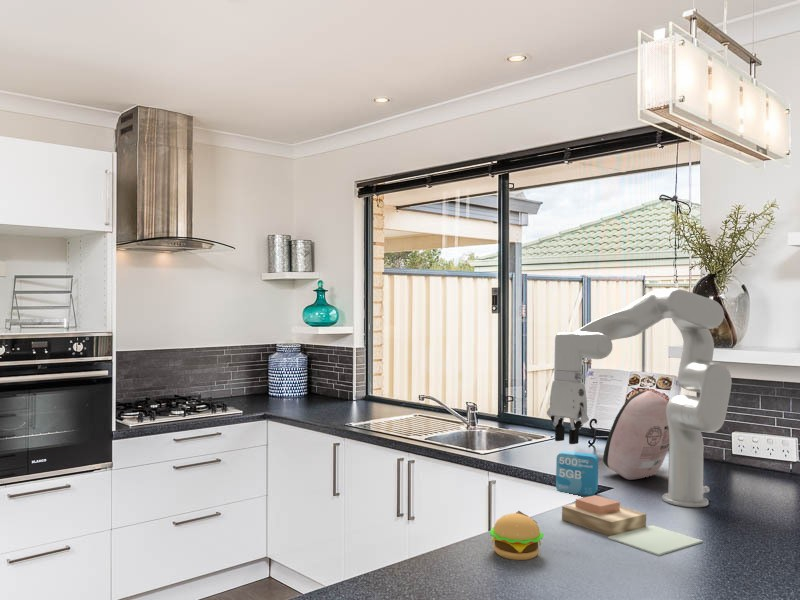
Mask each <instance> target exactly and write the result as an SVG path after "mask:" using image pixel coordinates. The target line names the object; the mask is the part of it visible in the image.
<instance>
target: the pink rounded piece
mask: <svg viewBox="0 0 800 600" xmlns="http://www.w3.org/2000/svg"><path fill="white" fill-rule="evenodd" d="M667 404H668V401H667V400H666V399H665V398H664V397H662V396H661V395H660V394H658V393H656V392H653V391H651V390H641V391H639V392H636V393H635V394H633V395H631V396H630V397H629V398H628V399H627V400H626V401H625V402H624V404H623V405H622V407H621V409H619V411H618V413H617V414H616V416H615V418H614V420H613V423H612V425H611V427H610V431H609V433H608V436H607V440H606V442H605V446H604V449H603V450H604V451H603V456H602V461H603V463H604V465H605V466H606V467H608V468H609V469H610V470H611V471H613V472H615V473H616V474H618V475H619V476H621V477H622V478H624V479H625V480H630V481H631V480H633V481H634V480H638V479H644V478H645V477H646V478H650V477H652V476H654V475H655V474H656V473H657V472H658V471H659V470H660V468H661V467H662V465H663V463H664V461H665V458H666V456H667V454H668V452H669V427H668V422H667V416H666V407H667ZM649 476H650V477H649ZM646 478H645V479H646Z"/></svg>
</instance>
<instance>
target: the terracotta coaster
mask: <svg viewBox="0 0 800 600" xmlns="http://www.w3.org/2000/svg"><path fill="white" fill-rule="evenodd" d="M575 504H576V507H578V508H581V509H585V510H588V511H591V512H594V513H597V514H604V513H608V512H612V511H617V510H620V506H621V503H620V501H616V500H614V499H610V498H606V497H603V496H599V495H596V494H594V495H593V496H585V497H584V496H583V497H580V498H575Z"/></svg>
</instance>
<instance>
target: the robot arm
mask: <svg viewBox="0 0 800 600" xmlns="http://www.w3.org/2000/svg"><path fill="white" fill-rule="evenodd" d="M724 318H725V312H724V309H723V307H722V305H721V304H720V303H719V302H718V301H716V300H715V299H712V298H710V297H706V296H703V295H700V294H697V293H694V292H691V291H687V290H684V289H680V288H662V289H661V288H660V289H655V290H653V291H650V292H648V293H647V294H645V295H644V296H641V298H639V299H637V300H635V301H633V302H632V303H630V304H629V305H627V306H626V307H624V308H622V309H621V310H617V311H615V312H612V313H610V314H607V315H605V316H602V317H600V318H598V319H595V320H592V321H591V322H589V323H586V324H585V325H583V326H582V327H580V328H579V329H577V330H575V331H574V332H557V333H556V334H555V337H554V363H553V364H554V365H553V368H554V370H553V371H554V373H553V375H554V376H553V379H554V380H552V383H551V389H550V397H549V408H548V409H547V411H546V415H547V416H548V417H549V418H550V420H551V422H552V423H553V427H555V429H554V441H555V442H560V441H561V442H562V441H565V433H566V431H565V430H566V428H565V426H564V420H565V419H569V423H570V429H569V433H568V443H569V444H568V445H578V444H579V439H580V438H579V435H580V434H579V433H580V431H579V430H581V428H582V427H583V426H584V424H586V423H588V421H589V416H588V401H587V400H588V399H587V389H586V387H585V385H586V384H585V382H583V380H584V379H585V374H583V359H589V360H590V359H591V360H603V359H606V358H607V357H608V356H609V355H610V354H611V353H612V351H613V341H615V340H620V339H627V338H631V337H635V336H637V335H640V334H642V333H643V332H645V331H646V330H648V329H649V328H651V327H653V326H654V325H656V324H658V323H659V322H660V321H662V320H665V319H671V320H672V323H673V324H674V325H675V326H676V327H677V328H678V330H679V332H680V334H681V337H682V340H683V343H682V345H683V346H682V351H681V352H682V353H681V357H680V362H679V367H678V373H677V374H678V375H677V382H678V385H679V386H680V387H681V388H683V390H686V391H689V392H694V393H699V396H697V395H695V396H694V395H688V394H679V395H675V396H673V397H671V398H670V399H669V401H667V403H668V404H667V407H666V416H667V422H668V427H669V448H668V482H667V483H668V488H667V490H668V491H667V492H666V493H663V495H662V500H663V501H664V502H666V503H668V504H671V505H674V506H675V505H676V506H679V507H686V508H703V507H707V506H708V505H709V499H707V498H706V497H704V494H706V493H709V492H710V487H709V486H708V485H704V450H705V448H704V447H705V446H704V445H705V444H704V439H703V434H702V432H703V433H715V432H717V431H719V430H720V429H721V428H722V427H723V425H724V423H725V420H726V418H727V412H728V405H729V401H730V396H731V389H732V382H733V381H732V375H731V373H730V370H729V368H728V367H727V366H726V365H725V364H723V363H721V362H717V361H713V357H714V350H715V342H714V338H713V336H712V333H711V331H710V330H712V329H716V328H718V327H719V326H720V325H721V324H722V323H723V322H724Z"/></svg>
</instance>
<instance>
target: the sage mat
mask: <svg viewBox="0 0 800 600" xmlns="http://www.w3.org/2000/svg"><path fill="white" fill-rule="evenodd" d="M607 538H608V539H609V540H612V541H615V542H617V543H620V544H624V545H626V546H629V547H632V548H636V549H638V550H641V551H643V552H647V553H650V554H652V555H656V556H658V557H659V556H661V555H666V554H669V553H671V552H675V551H678V550H681V549H682V550H683V549H684V548H689V547H691V546H694V545H695V546H696V545H698V544H701V543H703V542H704V541H703V539H699V538H697V537H696V538H695V537H692V536H689V535H686V534H683V533H679V532H676V531H673V530H669V529H667V528H664V527H660V526H658V525H657V526H656V525H654V524H652V525H648V526H647V525H646V527H644V528H640V529H636V530H632V531H628V532H624V533H621V534H617V535H613V536H609V535H608V537H607Z"/></svg>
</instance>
